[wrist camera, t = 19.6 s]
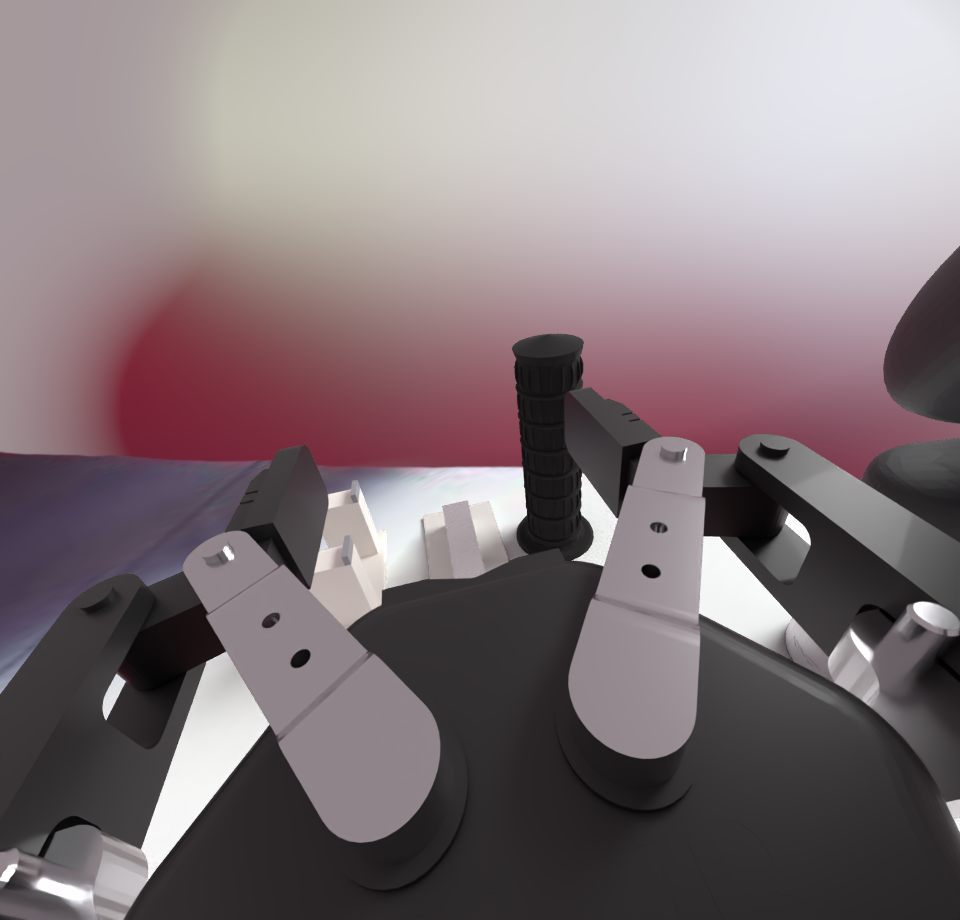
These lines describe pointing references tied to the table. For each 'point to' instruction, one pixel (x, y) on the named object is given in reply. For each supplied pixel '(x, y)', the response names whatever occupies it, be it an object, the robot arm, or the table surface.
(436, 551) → the mat
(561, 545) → the handle grip
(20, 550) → the table surface
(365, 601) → the rack
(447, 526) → the rail
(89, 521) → the table surface
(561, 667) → the robot arm
